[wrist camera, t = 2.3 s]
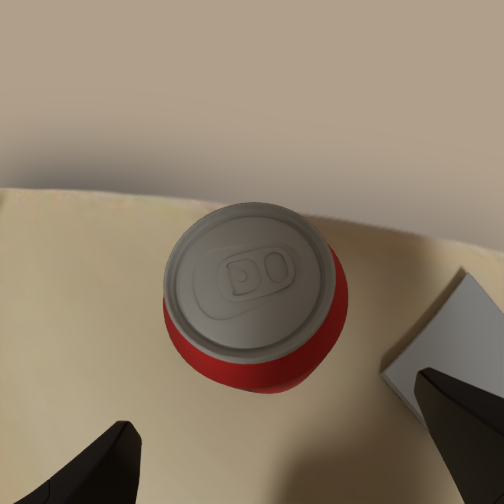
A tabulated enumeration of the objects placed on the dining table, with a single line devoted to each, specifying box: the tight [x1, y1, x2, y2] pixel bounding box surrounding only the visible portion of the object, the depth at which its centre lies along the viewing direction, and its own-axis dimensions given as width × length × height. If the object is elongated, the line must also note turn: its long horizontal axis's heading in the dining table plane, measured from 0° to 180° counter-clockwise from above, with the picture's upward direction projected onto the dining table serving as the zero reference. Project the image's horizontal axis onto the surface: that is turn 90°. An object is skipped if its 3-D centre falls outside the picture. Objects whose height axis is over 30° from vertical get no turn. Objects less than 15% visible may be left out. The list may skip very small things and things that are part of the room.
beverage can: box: [163, 202, 348, 394], centre depth 14 cm, size 7×7×12 cm
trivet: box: [380, 272, 504, 432], centre depth 15 cm, size 11×11×1 cm
